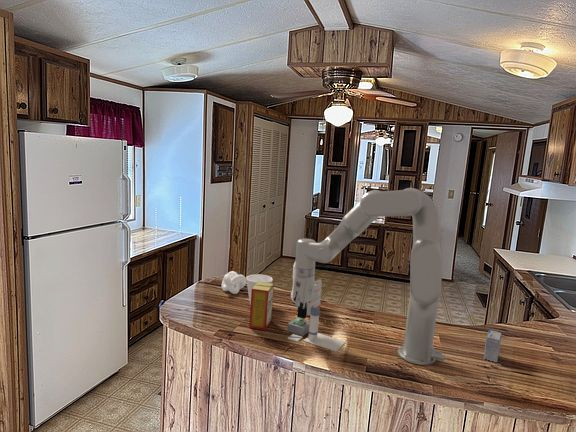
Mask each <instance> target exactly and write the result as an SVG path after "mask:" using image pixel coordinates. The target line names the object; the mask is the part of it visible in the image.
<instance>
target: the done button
mask: <svg viewBox="0 0 576 432" xmlns="http://www.w3.org/2000/svg"><path fill="white" fill-rule="evenodd" d="M295 318H296V322H295V324H296V325H299V326H303V325H304V320H305V319H303V318H299V317H295Z"/></svg>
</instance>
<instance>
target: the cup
mask: <svg viewBox="0 0 576 432" xmlns="http://www.w3.org/2000/svg"><path fill="white" fill-rule="evenodd" d="M245 278H246V285H247V293H248V300H249V306H250V305H251V291H252V288H253V287H254V286H255V285H256V283H257V282H265V283H273V280H274V278H272V276H269V275H267V274H259V273H256V274H250V275H247V276H245Z"/></svg>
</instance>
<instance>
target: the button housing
mask: <svg viewBox="0 0 576 432" xmlns="http://www.w3.org/2000/svg"><path fill="white" fill-rule="evenodd" d="M296 318H297V317H295V318H294V319H292V320H291V321H289V322H288V323H287V325H286V332H289V333H292V334H295V335H298V336H301V337H303V336H306V335H307V334H309V325H310V321H308V320H305V319H304V325H303V326H299V325H296V324H295V322H296Z"/></svg>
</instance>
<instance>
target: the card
mask: <svg viewBox="0 0 576 432" xmlns="http://www.w3.org/2000/svg"><path fill="white" fill-rule="evenodd" d="M302 339H303V336H301V335H298V334H295V333H292V334H291V335H289V336H288V337H287V340H291V341H294V342H297V343H298V342H299V341H300V340H302Z"/></svg>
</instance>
